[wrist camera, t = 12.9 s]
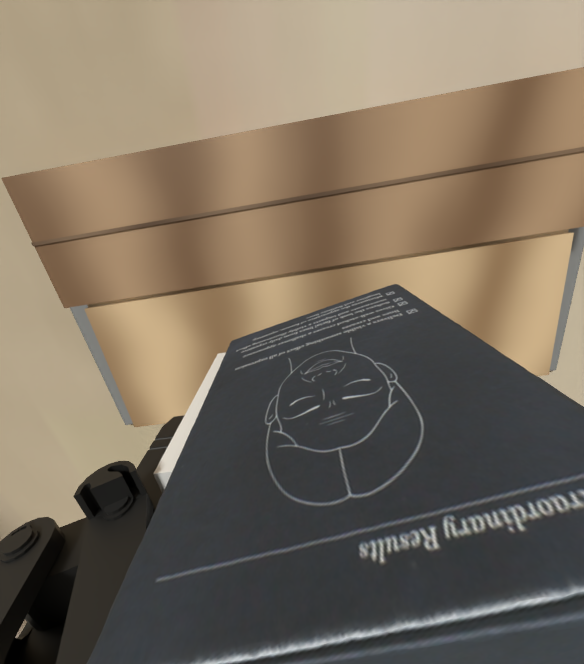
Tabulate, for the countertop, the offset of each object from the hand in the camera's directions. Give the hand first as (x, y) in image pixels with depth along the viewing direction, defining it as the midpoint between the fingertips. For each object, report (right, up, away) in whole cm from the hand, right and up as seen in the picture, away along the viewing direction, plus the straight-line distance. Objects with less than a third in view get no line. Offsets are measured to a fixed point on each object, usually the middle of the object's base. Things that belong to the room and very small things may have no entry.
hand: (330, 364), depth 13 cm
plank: (0, +2, +3) cm, 4 cm away
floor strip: (-1, +8, +1) cm, 8 cm away
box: (0, 0, +1) cm, 1 cm away
